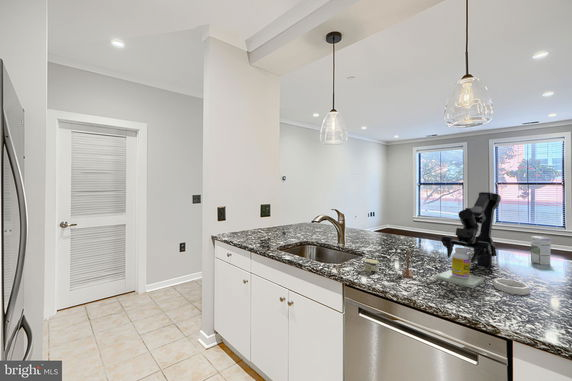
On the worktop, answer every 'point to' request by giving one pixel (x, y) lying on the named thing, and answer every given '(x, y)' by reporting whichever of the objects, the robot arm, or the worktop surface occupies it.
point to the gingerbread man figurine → (405, 272)
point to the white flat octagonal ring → (518, 286)
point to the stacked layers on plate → (371, 265)
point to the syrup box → (540, 250)
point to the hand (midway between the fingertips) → (459, 259)
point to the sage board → (469, 282)
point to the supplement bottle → (460, 263)
